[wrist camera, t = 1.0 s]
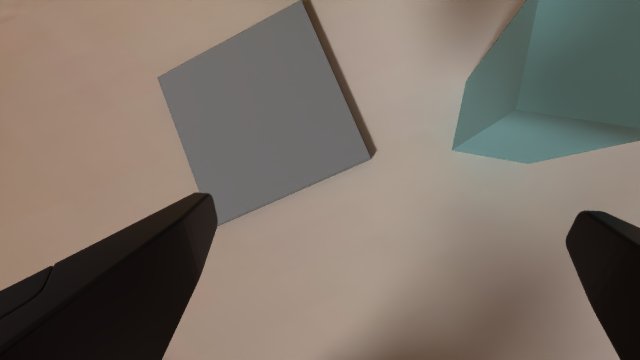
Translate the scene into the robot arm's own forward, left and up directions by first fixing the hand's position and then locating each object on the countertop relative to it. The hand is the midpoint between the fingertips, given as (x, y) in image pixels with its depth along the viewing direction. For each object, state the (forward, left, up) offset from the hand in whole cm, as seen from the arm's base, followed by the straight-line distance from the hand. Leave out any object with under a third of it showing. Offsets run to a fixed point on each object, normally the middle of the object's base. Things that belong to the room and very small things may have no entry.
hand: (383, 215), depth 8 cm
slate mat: (+9, +6, -13) cm, 17 cm away
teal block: (+2, -8, -13) cm, 16 cm away
